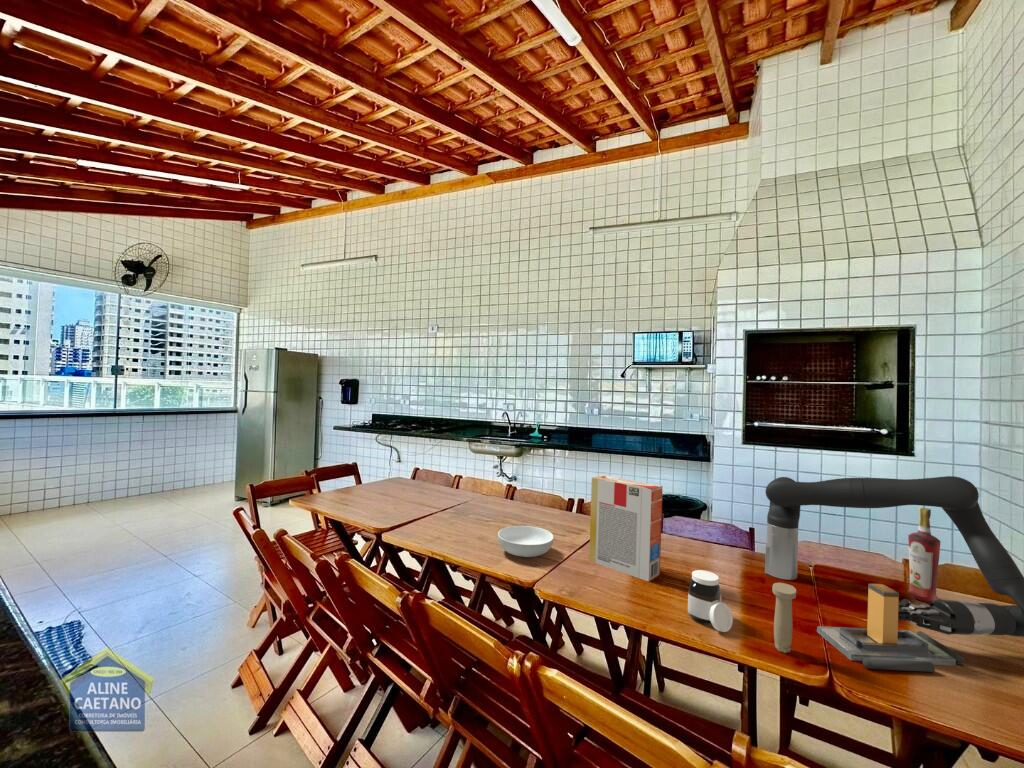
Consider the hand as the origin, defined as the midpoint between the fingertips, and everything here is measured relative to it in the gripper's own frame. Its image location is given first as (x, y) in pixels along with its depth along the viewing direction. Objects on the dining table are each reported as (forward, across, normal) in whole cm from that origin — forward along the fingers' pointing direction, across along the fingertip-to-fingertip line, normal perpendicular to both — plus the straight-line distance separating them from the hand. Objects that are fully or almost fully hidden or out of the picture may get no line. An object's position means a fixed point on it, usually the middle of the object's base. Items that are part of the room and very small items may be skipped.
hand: (889, 614), depth 109 cm
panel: (+2, 0, +8) cm, 9 cm away
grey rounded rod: (+5, +9, +8) cm, 13 cm away
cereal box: (+56, -43, +9) cm, 71 cm away
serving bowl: (+90, -53, +9) cm, 105 cm away
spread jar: (+40, -9, +9) cm, 42 cm away
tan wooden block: (+2, 0, +7) cm, 7 cm away
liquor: (-33, -28, +9) cm, 45 cm away
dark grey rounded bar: (-12, 0, +8) cm, 15 cm away
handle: (+28, +3, +9) cm, 29 cm away
